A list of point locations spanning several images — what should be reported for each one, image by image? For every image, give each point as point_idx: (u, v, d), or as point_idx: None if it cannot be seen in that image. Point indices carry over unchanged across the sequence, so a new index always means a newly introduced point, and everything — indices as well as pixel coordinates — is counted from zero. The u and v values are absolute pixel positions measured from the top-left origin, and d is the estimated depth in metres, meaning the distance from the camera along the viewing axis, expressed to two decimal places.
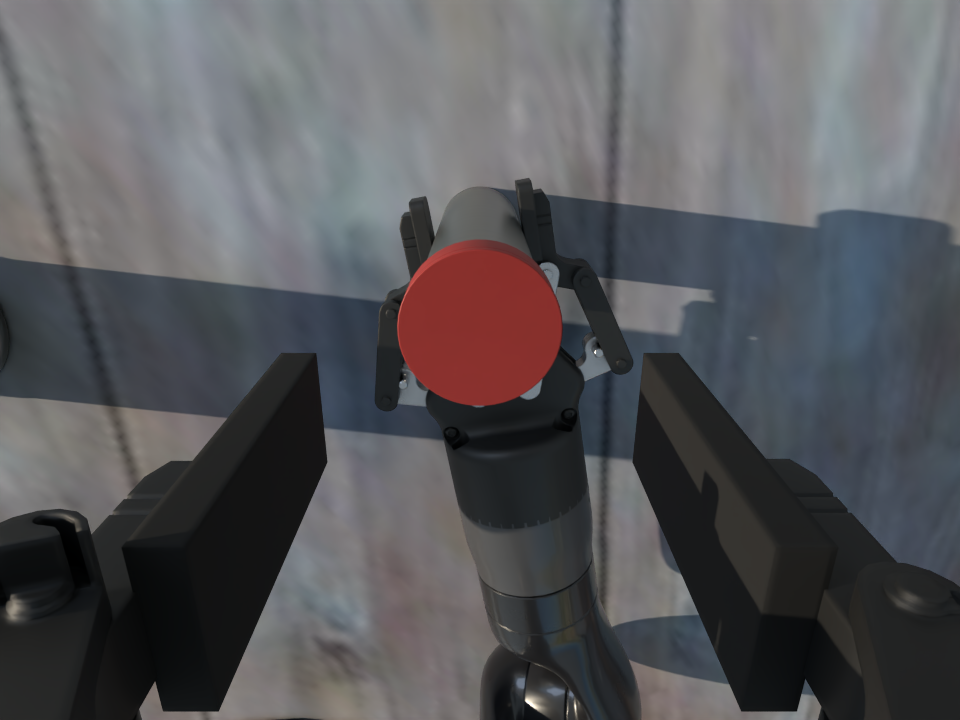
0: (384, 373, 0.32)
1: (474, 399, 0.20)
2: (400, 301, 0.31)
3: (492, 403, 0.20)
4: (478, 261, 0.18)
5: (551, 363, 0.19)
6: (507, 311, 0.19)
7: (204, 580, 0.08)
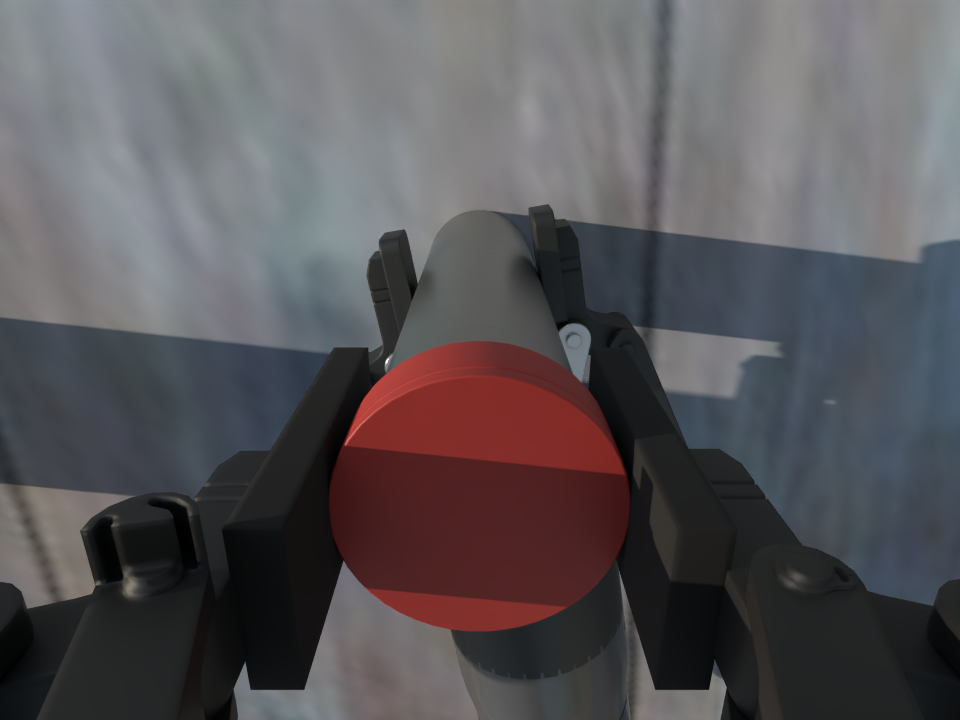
0: None
1: (469, 622, 0.11)
2: None
3: (501, 628, 0.11)
4: (476, 396, 0.10)
5: (608, 566, 0.11)
6: (530, 482, 0.10)
7: (295, 562, 0.08)
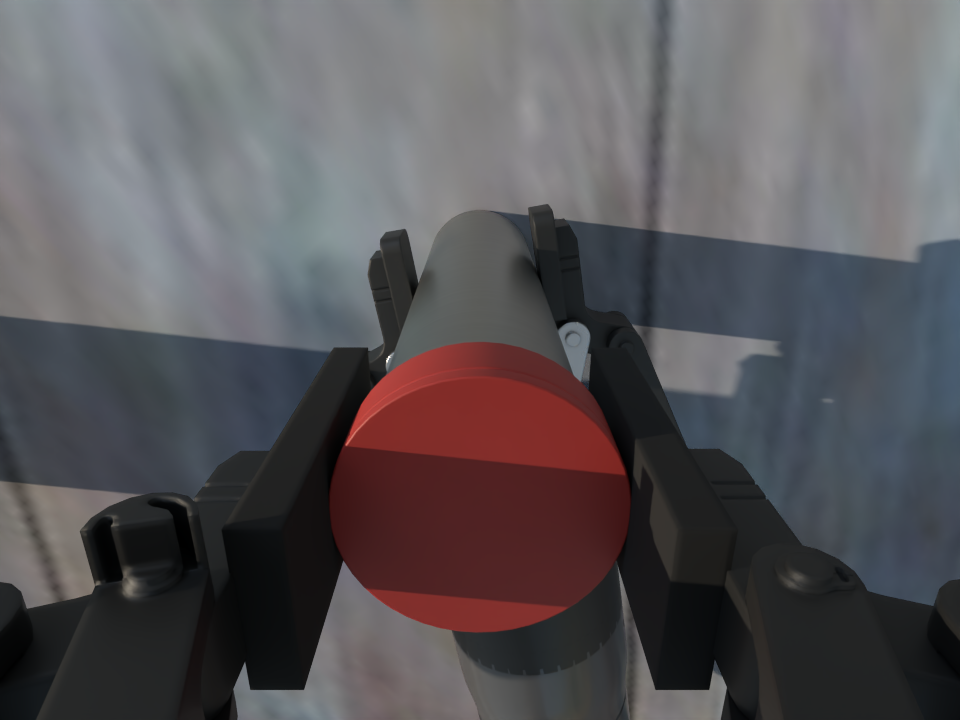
0: None
1: (612, 473, 0.10)
2: (370, 372, 0.23)
3: (607, 442, 0.10)
4: (367, 563, 0.11)
5: (478, 379, 0.09)
6: (422, 492, 0.10)
7: (294, 562, 0.08)
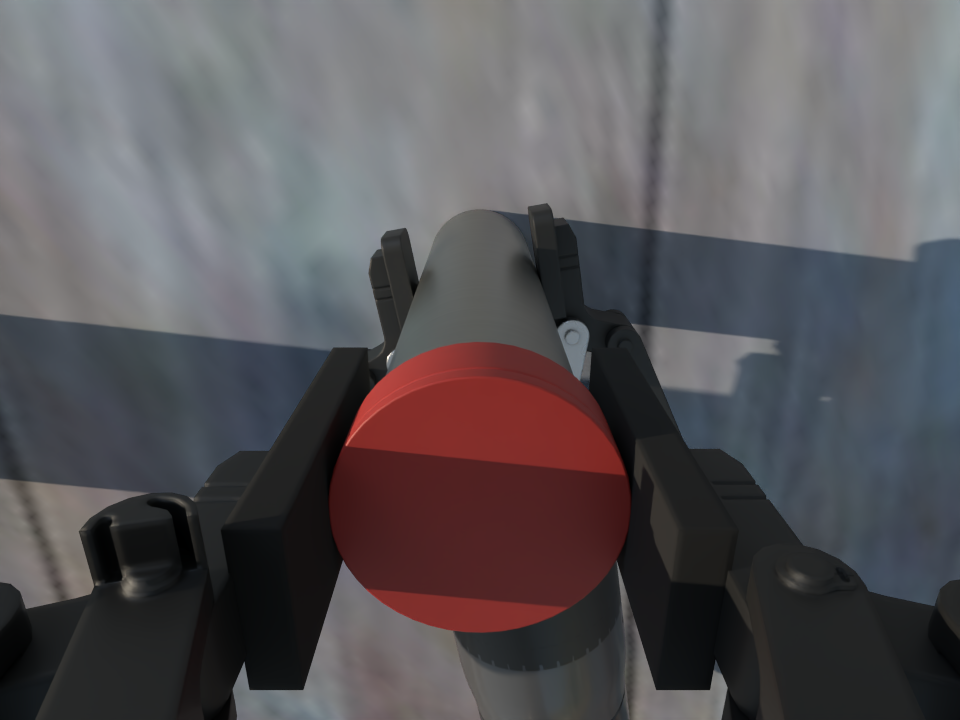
0: None
1: (373, 432, 0.10)
2: (371, 370, 0.23)
3: (346, 452, 0.10)
4: (578, 580, 0.11)
5: (351, 568, 0.11)
6: (478, 568, 0.11)
7: (293, 562, 0.08)
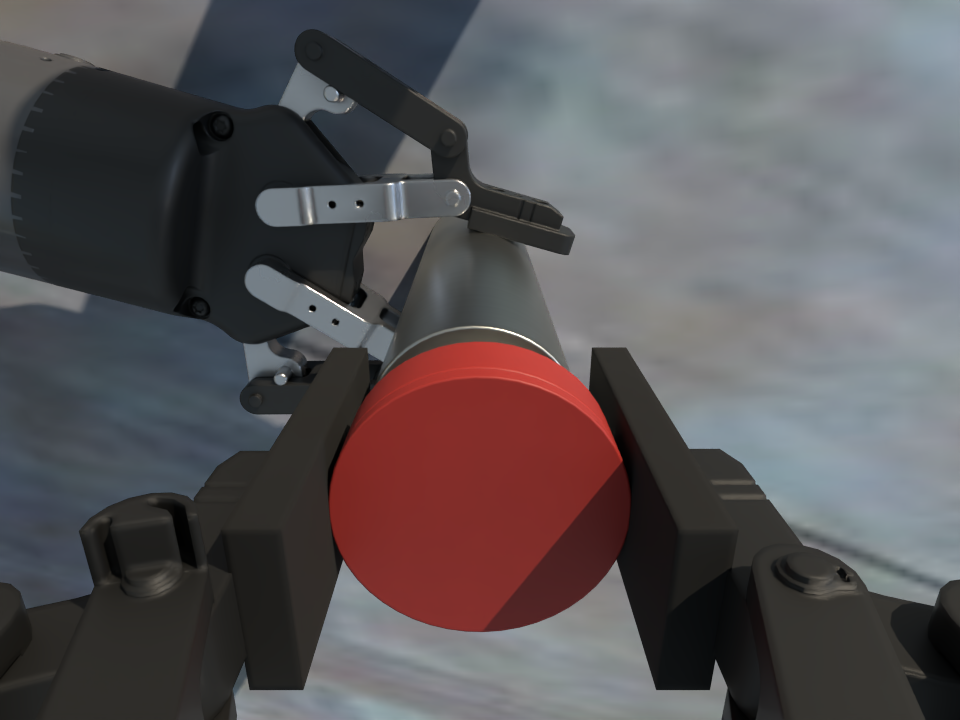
0: (361, 74, 0.19)
1: (373, 432, 0.10)
2: (457, 156, 0.21)
3: (346, 451, 0.10)
4: (578, 579, 0.11)
5: (351, 567, 0.11)
6: (478, 567, 0.11)
7: (293, 562, 0.08)
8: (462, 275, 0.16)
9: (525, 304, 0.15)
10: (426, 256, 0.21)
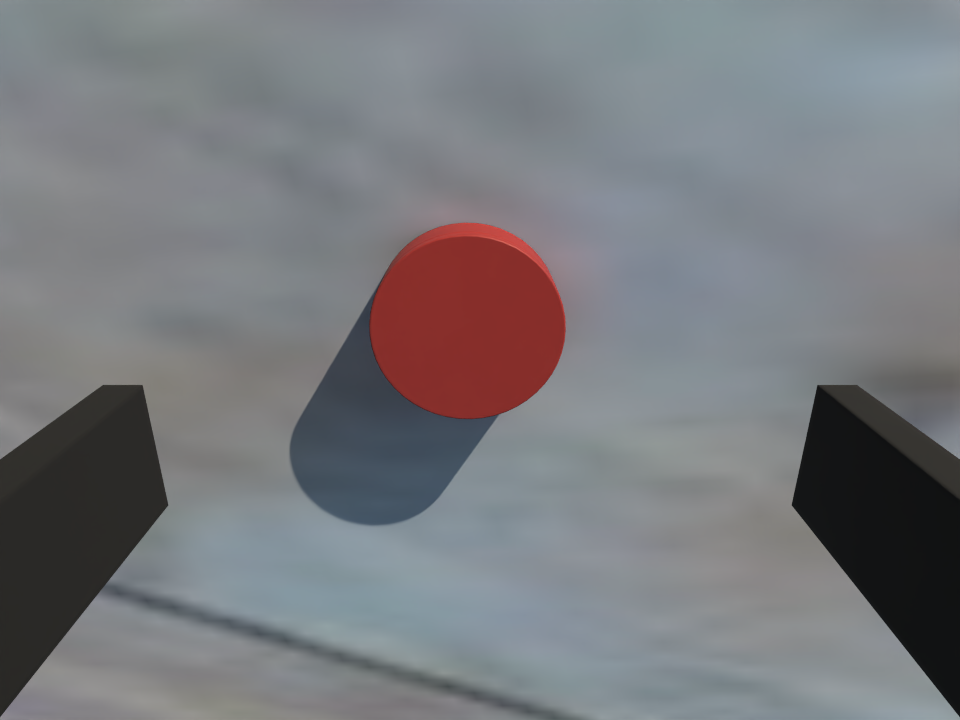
0: None
1: (399, 273, 0.15)
2: None
3: (381, 287, 0.16)
4: (532, 379, 0.17)
5: (384, 371, 0.16)
6: (467, 370, 0.16)
7: None
8: None
9: None
10: None
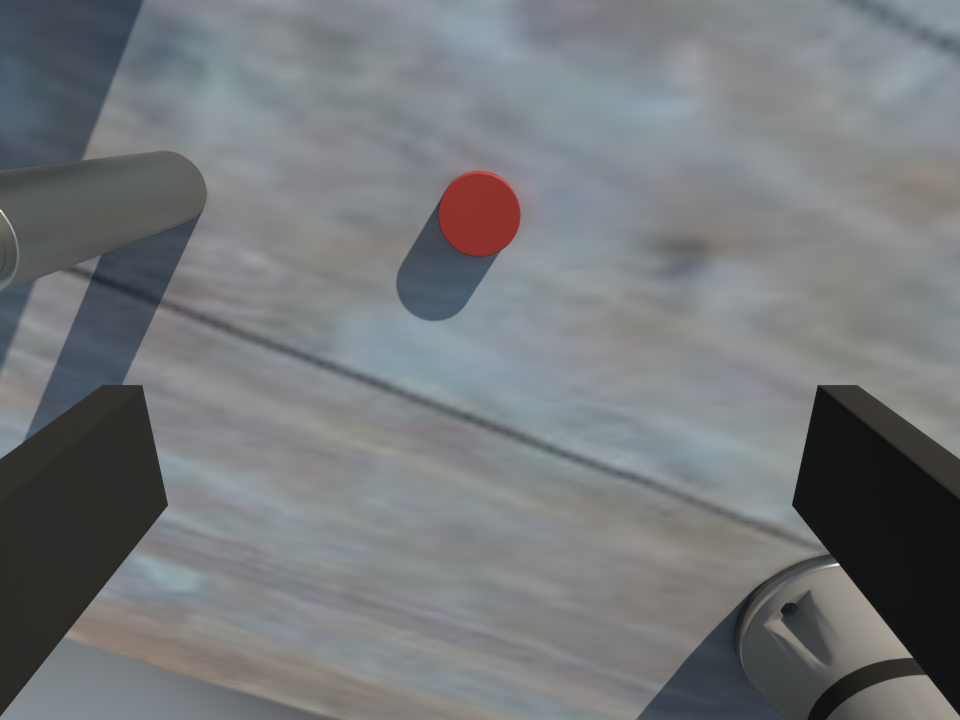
0: None
1: (451, 189, 0.38)
2: None
3: (444, 195, 0.38)
4: (506, 237, 0.39)
5: (443, 233, 0.39)
6: (479, 233, 0.39)
7: None
8: None
9: (22, 181, 0.25)
10: None
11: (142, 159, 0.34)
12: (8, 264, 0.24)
